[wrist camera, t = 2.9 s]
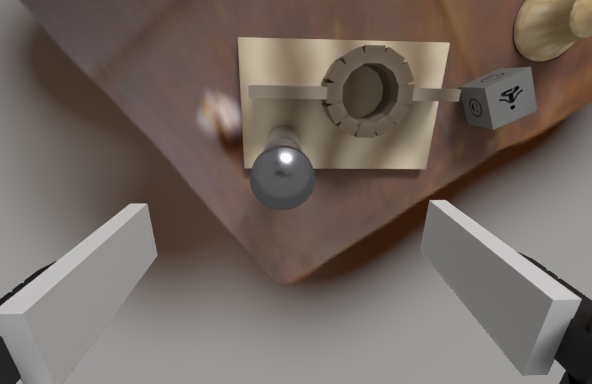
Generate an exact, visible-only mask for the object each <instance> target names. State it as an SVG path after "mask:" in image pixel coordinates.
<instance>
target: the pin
mask: <svg viewBox="0 0 592 384" xmlns="http://www.w3.org/2000/svg"><path fill="white" fill-rule="evenodd" d="M250 185H251V188H252V191H253V193H254V195H255V196H256V197H257V199H258V200H259V201H260V202H262V203H263V204H264V205H266V206H268V207H270V208H273V209H278V210H287V209H292V208H295V207H297V206H299V205H301V204H302V203H304V202H305V201H306V200H307V199H308V198H309V196H310V195H311V193H312V191H313V189H314V185H315V173H314V169H313V166H312V164H311V162H310V160H309V158H308V157H307V156H306V155H305V154H304V153H303V152H302V149H301V145H300V141H299V138H298V135H297V133H296V132H295V130H294V129H292V128H291V127H289V126H284V125H282V126H277V127H275V128H274V129H272V130H271V131H270V133H269V135H268V138H267V141H266V145H265V148H264V151H263V152H262V153H261V154H260V155H259V156H258V157H257V158H256V160H255V162H254V164H253V166H252V169H251V173H250Z"/></svg>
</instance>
